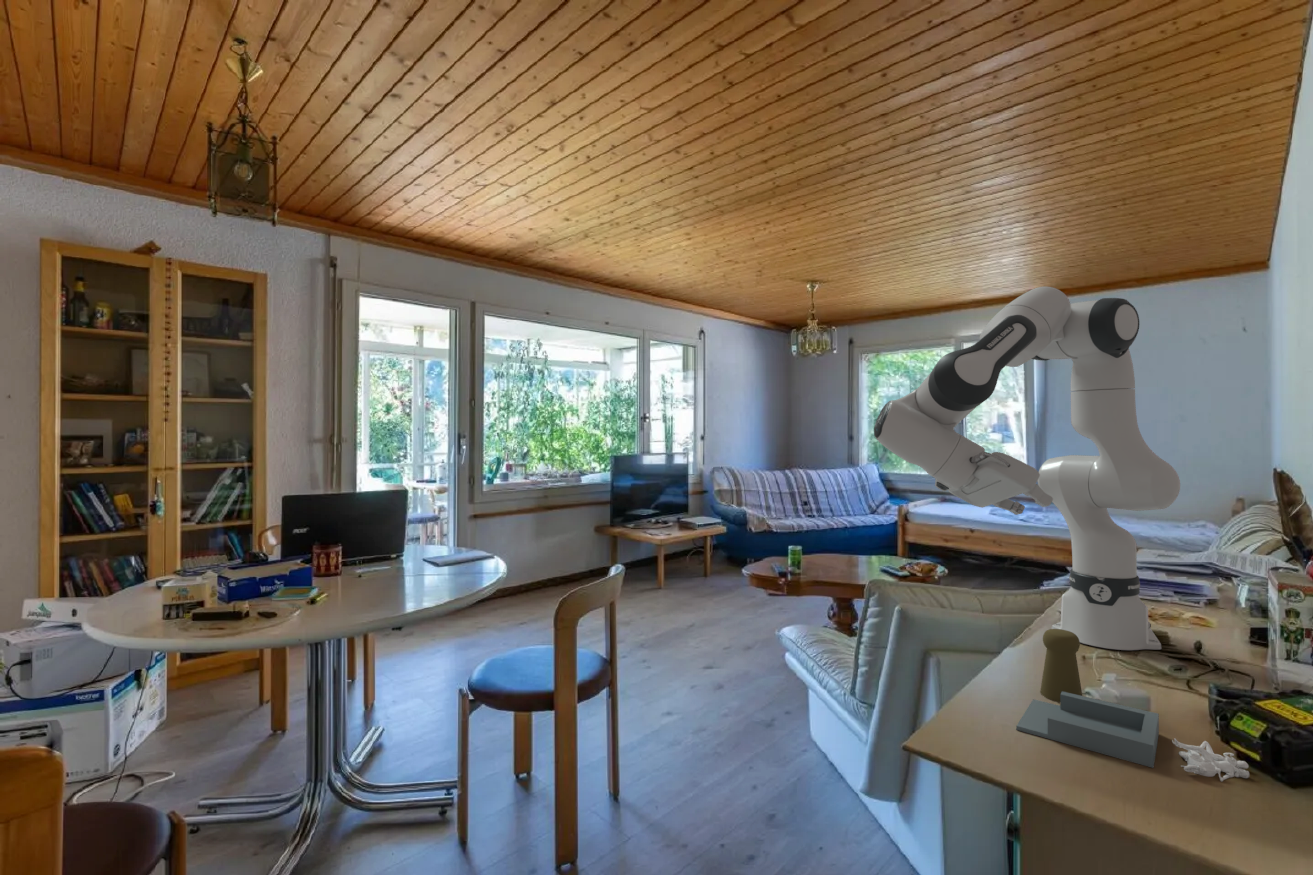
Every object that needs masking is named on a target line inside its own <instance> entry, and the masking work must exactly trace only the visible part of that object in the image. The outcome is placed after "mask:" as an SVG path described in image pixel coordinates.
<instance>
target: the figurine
mask: <svg viewBox="0 0 1313 875" xmlns="http://www.w3.org/2000/svg"><path fill="white" fill-rule="evenodd" d="M1173 739H1174V740H1173ZM1173 739H1172V740H1171V742H1172V744H1173V745H1174V746H1175V747H1177V748H1180V749H1181V748H1182V749H1184V750H1186V751H1179V752H1178V755H1179V756H1180V757H1182V758H1183V760H1185V762H1187V765H1180V767H1181V768H1182V767H1183V770H1184V771H1185V772H1188V773H1194V774H1198V775H1200V776H1203V777H1215V776H1216V774H1218V777H1219V781H1220V782H1224V780H1225V781H1226V780H1228V779H1229V778H1233V777H1234V778H1235V777H1236V778H1241V779H1242V778H1243V779H1249V778H1250V771H1249V770H1247V769H1249V768H1250V767H1249V764H1248V763H1247V762H1246V761H1245V760H1237V759H1236V758H1235V754H1234V753H1233V752H1224V753H1223V755H1221V754H1218V753H1214V751H1213V748H1212V746H1211V744H1210V743H1209V742H1208V741H1206V740H1204V741H1203V742H1202V743H1201V744H1200V745H1193V744H1186V743H1183V742H1180V741H1178V740H1177V738H1175V737H1174V738H1173ZM1221 772H1223V773H1225V775H1223V776H1221Z"/></svg>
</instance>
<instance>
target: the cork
mask: <svg viewBox="0 0 1313 875" xmlns="http://www.w3.org/2000/svg"><path fill="white" fill-rule="evenodd" d="M1042 642H1043V645H1044V646H1045V648H1046V652H1045V658H1044V666H1043V670H1042V672H1043V673H1042V679H1041V683H1040V684H1041V685H1040V690H1039V693H1040V695H1041V696H1042V697H1044V698H1046V699H1047V700H1050V701H1054V702H1058V703H1060V694H1061V692H1062V691H1063V692H1067V693H1072V694H1076V695H1080V696H1083V690H1082V684H1081V680H1080V679H1081V678H1080V672H1079V671H1080V670H1079V665H1078V660H1077V659H1078V658H1077V653H1078V651H1079V650H1080V646H1081V645H1080V644H1081V642H1080V641H1079V638H1078V637H1077V635H1076V634H1074V633H1072V632H1070V631H1067V630H1062V629H1052V628H1050V629H1047V630H1045V631H1044V633H1043V635H1042Z"/></svg>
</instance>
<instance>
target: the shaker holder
mask: <svg viewBox="0 0 1313 875" xmlns="http://www.w3.org/2000/svg"><path fill="white" fill-rule="evenodd" d="M1059 703H1060V705H1059V704H1054V703H1050V702H1046V701H1043V700H1039V699H1038V700H1037V699H1035V698H1034V699H1032V701H1031V702H1030V703H1029V705H1028V707H1027V708H1026V710H1025V711H1024V713H1023V715H1022V716H1021V717H1020V720H1019V721H1018V722H1017V724H1016V731H1019V732H1023V733H1026V734H1031V735H1034V736H1037V737H1040V738H1041V737H1042V738H1045V739H1049V740H1052V741H1054V742H1055V741H1056V742H1059V743H1063V744H1067V745H1070V746H1073V747H1077V748H1081V749H1084V750H1088V751H1091V752H1094V753H1095V752H1096V753H1099V754H1103V755H1106V756H1108V757H1113V758H1117V759H1120V760H1124V761H1127V762H1129V763H1135V764H1138V765H1142V766H1144V767H1148V768H1152V769H1154V766H1155V759H1156V754H1157V747H1158V740H1159V735H1160V734H1159V731H1160V722H1159V721H1160V719H1159V717H1160V715H1159V713H1158V712H1153V711H1148V710H1144V709H1140V708H1136V707H1131V706H1127V705H1123V704H1118V703H1115V702H1110V701H1106V700H1103V699H1102V700H1100V699H1097V698H1093V697H1089V696H1084V695H1082V696H1080V695H1076V694H1072V693H1067V692H1063V691H1062V692H1061V694H1060V702H1059Z"/></svg>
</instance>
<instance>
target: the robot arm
mask: <svg viewBox="0 0 1313 875" xmlns="http://www.w3.org/2000/svg"><path fill="white" fill-rule="evenodd" d="M1138 313H1139V312H1138V311H1137V308H1136V307H1135V306H1134V305H1133V304H1132V303H1131V302H1130V301H1129V300H1127V299H1125V298H1121V297H1120V298H1119V297H1103V298H1100V299H1098V300H1096V299H1095V300H1086V301H1078V302H1072V303H1071V301H1070V300H1069V298H1068V296H1067V294H1065V292H1063V291H1061V290H1060V289H1058V288H1056V287H1053V286H1038V287H1036V288H1033V289H1030V290H1028V291H1026V292H1024V293H1022V294H1021V295H1019V296H1018V297H1015V299H1013V300H1012V301H1010V302H1009V303H1007V304H1006V305H1005V306H1004V307H1003V308H1002V309H1000V310H999V311H998V312H997V313H996V314H995V315H994V316H993V317H992V318H991V319H990V320H989V321H988V323H987V324H986V325H985V326H984V328H983V329H982V331H981V333H980V334H979V340H978V341H977V342H976V343H975V344H973V345H970V346H969V347H965V348H961V349H957V350H954V351H951V352H947V354H945V355H943V356H942V357H941V358H939V360H938V361H937V362H936V364H935V366H934V367H933V368H932V370H931V372H930V373H929V374H928V375H927V377H926V378H925V379H924V380H923V382H921V383H920V385H919V386H918V387H917V388H915V389H914V390H912V391H911V392H910V393H907V394H906V395H903V396H902V397H901V398H898V399H894V400H893V399H891V400H888V401H887V402H886V403H885V404H884V405H883V407H882V408H881V411H880V412H879V414H878V416H877V418H876V420H875V423H874V426H873V434H874V435H873V436H874V438H875V439H876V440H877V441H878V442H879V443H880V444H881V446H883V447H884V448H886V449H887V450H888V451H890V452H891V453H893V454H894V455H896V456H897V457H899V458H900V459H902V460H904V461H905V462H907V463H909V464H910V465H911V464H912V465H915V466H917V467H920V468H922V470H924V471H925V472H926V473H927V474H928V476H931V477H933V478H934V479H935V482H934V486H935V488H937V489H939V490H940V491H942V492H947V491H948V492H949V493H950V494H951V495H953V496H954V497H957V498H958V499H960V500H962V501H963V502H964V501H965V502H966V503H968V504H970V505H972V506H975V507H977V508H985V507H988V506H991V505H993V506H994V507H995V508H999V509H1002V510H1006V511H1008V512H1010V513H1012V514H1014V515H1016V516H1018V515H1022V514H1023V512H1024V510H1025V509H1026V507H1025V505H1024V504H1022V503H1021V502H1019V501H1018V500H1017V501H1015V500H1011V498H1014V497H1017V496H1020V495H1024V496H1027V497H1030V498H1032V499H1033V500H1034V503H1035V504H1036V505H1039V506H1040V507H1042V508H1046V507H1049V506H1051V504H1054V506H1055V508H1057V509H1058V511H1059V512H1060V514H1061V515H1062V516H1063V518H1064V521H1065V523H1066V524H1067V528H1068V531H1069V534H1070V536H1069V537H1070V541H1071V555H1072V556H1071V558H1072V560H1071V561H1072V568H1071V569H1070V570H1069V577H1068V579H1069V586H1070V588H1069V590H1067V591H1066V592H1064V593H1063V594H1061V595H1062V596H1061V605H1060V606H1061V609H1060V610H1061V611H1060V612H1061V613H1060V621H1058V622H1056V623H1053V624H1052V625H1051V629H1062V630H1067V631H1070V632H1072V633H1074V634H1076V635H1077V637H1078V638H1079V641H1080V644H1084V645H1089V646H1092V647H1097V648H1102V649H1109V650H1118V651H1120V650H1121V651H1139V650H1162V643H1161V642H1160V640H1159V639H1158V636H1156V635H1155V633H1154V631H1153V630H1152V628H1151V627H1152V624H1151V622H1150V621H1149V607H1148V606H1147V605H1146V603H1145V602H1143V600H1141V598H1140V596H1139V594H1140V588H1141V582H1140V576H1138V575H1137V573H1138V572H1137V571H1138V568H1137V566H1138V565H1137V561H1138V559H1137V558H1138V557H1137V556H1138V555H1137V552H1138V551H1137V541H1136V539H1135V537H1134V536H1133V534H1131V532H1129V531H1128V530H1126V529H1125V528H1123V527H1122V526H1119V524H1118V523H1116V522H1114V520H1113V518H1111V516H1110V514H1109V512H1108V509H1113V510H1114V509H1115V510H1123V511H1134V512H1138V511H1139V512H1141V511H1157V510H1166V509H1167V508H1169V507H1170V506H1171V505H1172V504H1174V502H1175V501H1176V499H1178V496H1179V494H1180V491H1181V480H1180V476H1179V474H1178V473H1177V471H1176V469H1175V468H1174V467H1173V466H1172V465H1171V464H1170V463H1169V462H1167V461H1166V460H1164V459H1162V458H1160V456H1159V455H1157V454H1156V453H1155V452H1154V451H1153V450H1152V449H1151V447H1150V446H1149V445H1148V444H1147V443H1146V441H1145V440H1144V437H1143V436H1142V434H1141V431H1140V428H1139V425H1138V424H1139V423H1138V418H1137V408H1136V379H1135V369H1134V364H1133V360H1132V356H1131V352H1130V347H1131V346H1132V344H1133V343H1134V341H1135V340H1136V338H1137V336H1138V332H1139V329H1140V316H1139V314H1138ZM1069 359H1071V361H1072V368H1071V374H1070V423H1071V426H1072V428H1073V429H1074V431H1075V432H1077V433H1078V434H1079V435H1081V436H1082V437H1084V438H1087V439H1090V440H1091V441H1092V442H1093V444H1094V445H1095V446H1096V448H1097V450H1098V454H1099V455H1085V454H1084V455H1082V454H1081V455H1080V454H1078V455H1077V454H1071V455H1070V454H1069V455H1064V456H1063V455H1062V456H1056V457H1050V458H1048V459H1046V460H1045V461H1044V462H1043V463H1042V464H1041V466H1040V467H1039V469H1036V468H1035V467H1033V466H1031V465H1029V464H1027V463H1025V462H1023V461H1021V460H1019V459H1018V458H1015V457H1013V456H1012V455H1008V454H1007V453H1004V452H1000V451H994V452H991V453H990V452H986V450H985V447H983V446H981V445H980V444H978V443H976V442H975V441H973V440H970V439H969V438H967V437H966V436H964V435H962V434H961V433H958V432H957V431H955V427H956V426H957V425H958V424H960V423H961V422H962V421H963V420H964V419H965V418H966V417H967V416H968V415H970V413H972V412H973V411H974V410H975V409H976V408H977V407H978V406H980V405H981V404H983V403H984V402H985V401H987V400H988V399H989V398H990V397H991V396H993V393H994V392H995V390H996V387H997V385H998V384H997V383H998V380H999V376H1000V373H1001V371H1002V370H1003V369H1004V368H1005V367H1009V368H1010V367H1011V368H1014V367H1019V366H1021V365H1022V366H1023V365H1024V364H1025V363H1027V362H1028V361H1030V360H1034V361H1035V360H1036V361H1044V362H1045V361H1049V360H1069Z"/></svg>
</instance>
